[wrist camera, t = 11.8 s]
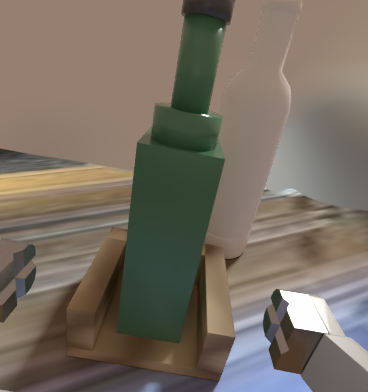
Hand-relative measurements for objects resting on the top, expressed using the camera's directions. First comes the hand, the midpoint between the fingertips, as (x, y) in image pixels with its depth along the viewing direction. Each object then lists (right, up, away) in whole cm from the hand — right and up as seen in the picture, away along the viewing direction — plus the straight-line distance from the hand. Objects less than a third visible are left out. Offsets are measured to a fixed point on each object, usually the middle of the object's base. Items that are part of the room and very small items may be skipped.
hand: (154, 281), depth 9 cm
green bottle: (-2, -8, +15) cm, 17 cm away
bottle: (+6, -4, +30) cm, 31 cm away
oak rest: (-2, -8, +17) cm, 19 cm away
